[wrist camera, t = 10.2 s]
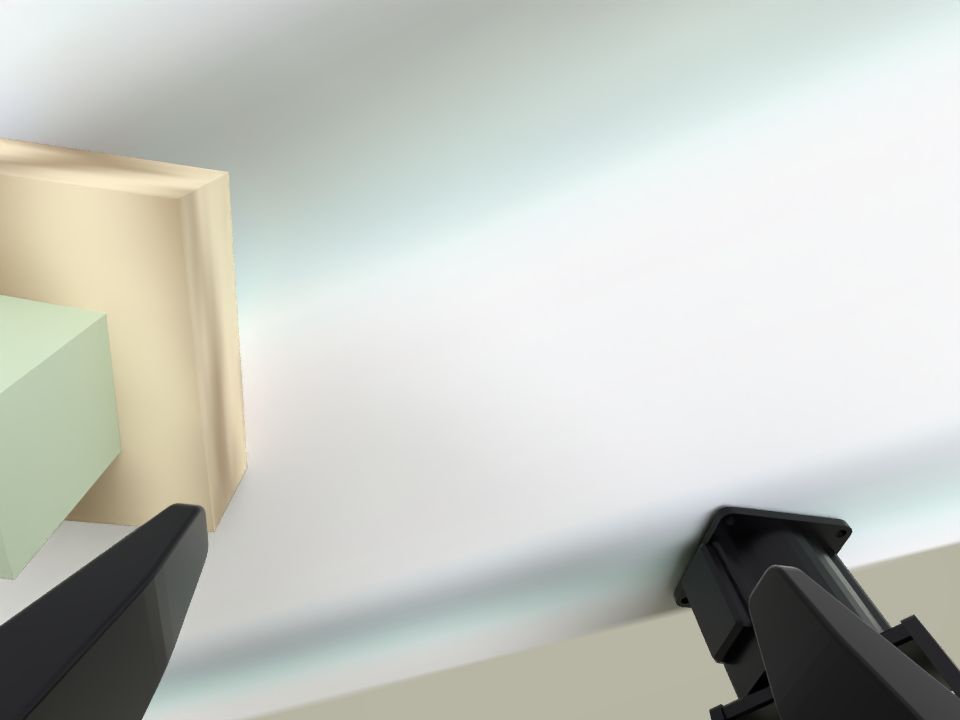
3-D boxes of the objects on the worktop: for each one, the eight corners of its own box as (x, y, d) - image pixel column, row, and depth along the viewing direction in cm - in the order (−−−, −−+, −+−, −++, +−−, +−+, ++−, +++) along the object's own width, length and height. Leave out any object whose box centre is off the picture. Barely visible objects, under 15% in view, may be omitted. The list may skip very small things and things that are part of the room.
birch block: (233, 169, 17) (177, 199, 14) (250, 460, 23) (214, 532, 20) (-113, 117, 16) (-267, 135, 13) (-4, 435, 22) (-90, 507, 19)
